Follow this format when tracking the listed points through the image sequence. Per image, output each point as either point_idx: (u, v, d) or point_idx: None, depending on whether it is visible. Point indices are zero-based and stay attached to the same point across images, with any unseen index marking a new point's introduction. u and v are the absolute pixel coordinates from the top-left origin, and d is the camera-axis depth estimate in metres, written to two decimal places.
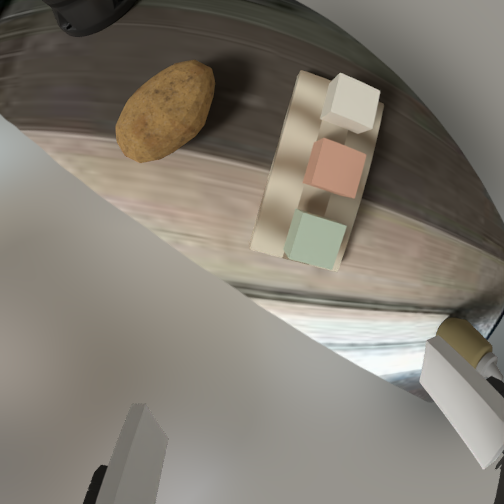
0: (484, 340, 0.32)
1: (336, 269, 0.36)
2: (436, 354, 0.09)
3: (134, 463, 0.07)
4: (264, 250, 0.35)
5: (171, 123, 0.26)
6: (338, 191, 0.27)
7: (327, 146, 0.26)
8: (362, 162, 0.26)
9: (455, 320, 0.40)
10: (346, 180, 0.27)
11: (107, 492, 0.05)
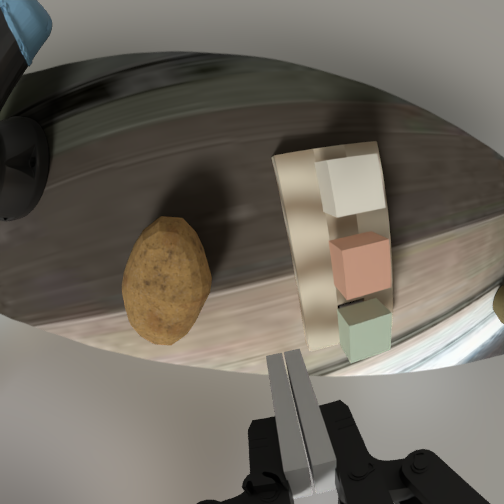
0: None
1: None
2: (287, 366, 0.12)
3: None
4: (322, 346, 0.34)
5: (183, 307, 0.26)
6: (374, 291, 0.25)
7: (348, 257, 0.24)
8: (387, 250, 0.24)
9: None
10: (378, 277, 0.25)
11: (289, 436, 0.08)
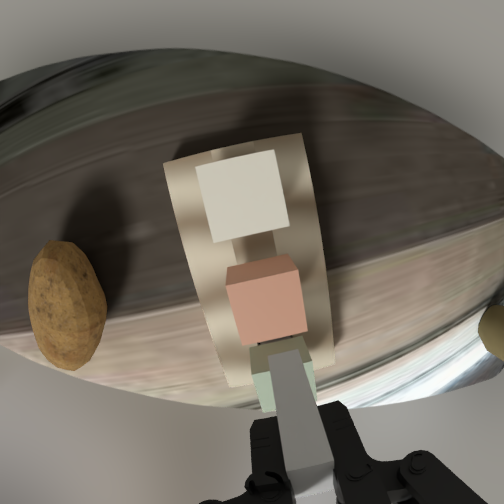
0: None
1: (332, 362, 0.28)
2: (286, 367, 0.12)
3: None
4: (244, 383, 0.28)
5: (71, 336, 0.20)
6: (281, 335, 0.20)
7: (236, 294, 0.19)
8: (297, 284, 0.19)
9: (494, 313, 0.29)
10: (285, 318, 0.20)
11: (291, 435, 0.08)
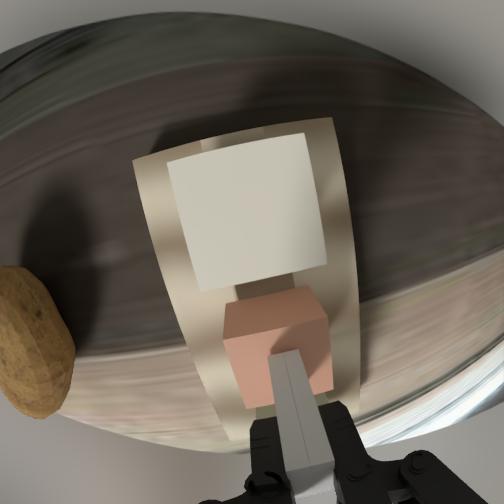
0: None
1: (356, 411, 0.21)
2: (286, 367, 0.12)
3: None
4: (248, 436, 0.21)
5: (31, 387, 0.13)
6: None
7: (238, 350, 0.13)
8: (324, 335, 0.13)
9: None
10: None
11: (291, 435, 0.08)
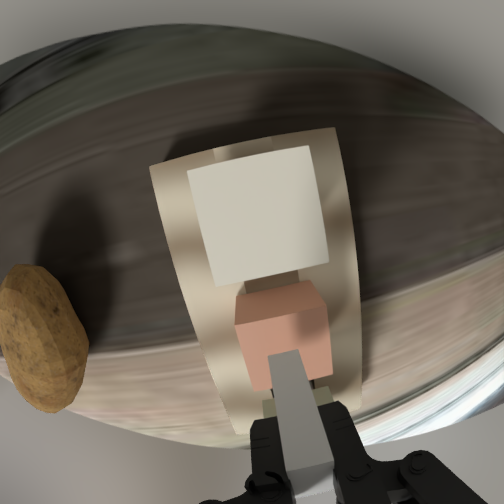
0: None
1: (358, 406, 0.22)
2: (286, 367, 0.12)
3: None
4: None
5: (46, 381, 0.15)
6: None
7: (248, 335, 0.15)
8: (324, 322, 0.15)
9: None
10: (307, 362, 0.15)
11: (291, 435, 0.08)
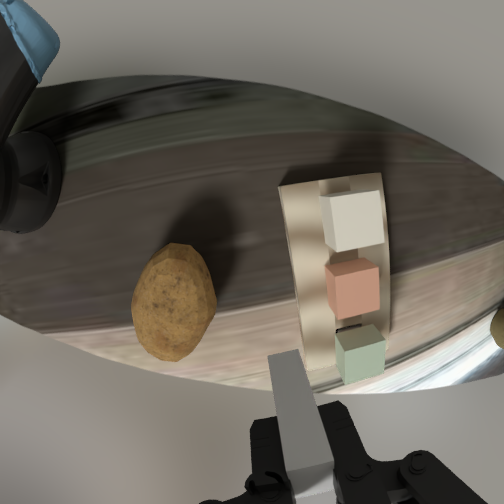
0: None
1: (386, 348, 0.34)
2: (286, 367, 0.12)
3: None
4: (320, 366, 0.34)
5: (189, 329, 0.27)
6: (363, 312, 0.28)
7: (340, 282, 0.27)
8: (376, 276, 0.27)
9: (503, 314, 0.34)
10: (367, 300, 0.28)
11: (291, 435, 0.08)
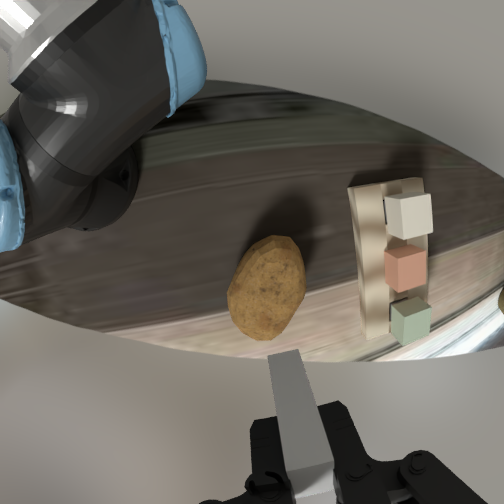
0: None
1: None
2: (286, 367, 0.12)
3: None
4: (376, 335, 0.41)
5: (290, 308, 0.33)
6: (415, 286, 0.34)
7: (401, 263, 0.33)
8: (424, 258, 0.33)
9: None
10: (418, 276, 0.34)
11: (291, 435, 0.08)
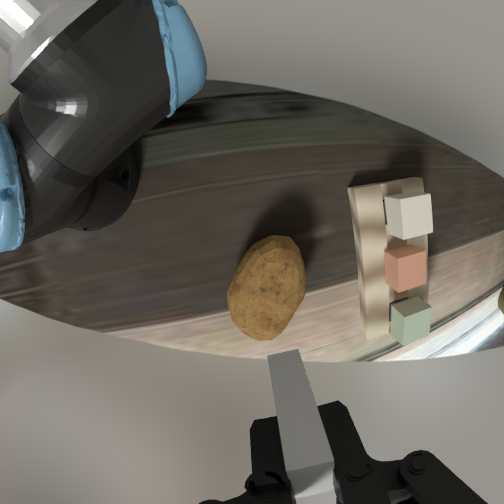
0: None
1: None
2: (286, 367, 0.12)
3: None
4: (376, 335, 0.41)
5: (290, 308, 0.33)
6: (415, 286, 0.34)
7: (401, 263, 0.33)
8: (424, 258, 0.33)
9: None
10: (418, 276, 0.34)
11: (291, 435, 0.08)
